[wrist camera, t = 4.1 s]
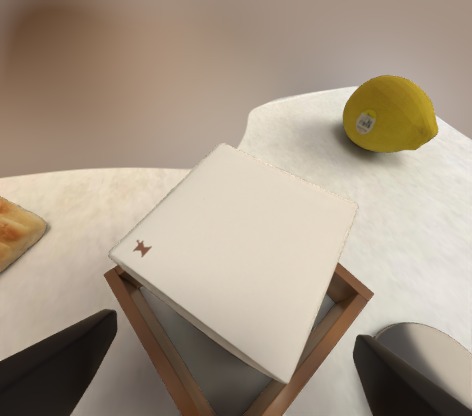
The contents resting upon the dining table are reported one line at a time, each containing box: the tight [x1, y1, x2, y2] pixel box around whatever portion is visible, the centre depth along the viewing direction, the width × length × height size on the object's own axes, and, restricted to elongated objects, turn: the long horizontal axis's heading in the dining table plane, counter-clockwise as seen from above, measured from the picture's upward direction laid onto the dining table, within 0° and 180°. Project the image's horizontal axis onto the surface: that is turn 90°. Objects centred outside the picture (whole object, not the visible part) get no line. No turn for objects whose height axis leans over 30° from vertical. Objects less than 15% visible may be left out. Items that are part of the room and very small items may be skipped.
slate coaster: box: [374, 323, 472, 410], centre depth 15 cm, size 9×9×1 cm
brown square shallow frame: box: [104, 263, 374, 416], centre depth 17 cm, size 14×14×4 cm
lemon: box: [343, 75, 438, 153], centre depth 26 cm, size 11×8×8 cm
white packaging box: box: [108, 143, 358, 384], centre depth 14 cm, size 7×7×13 cm
